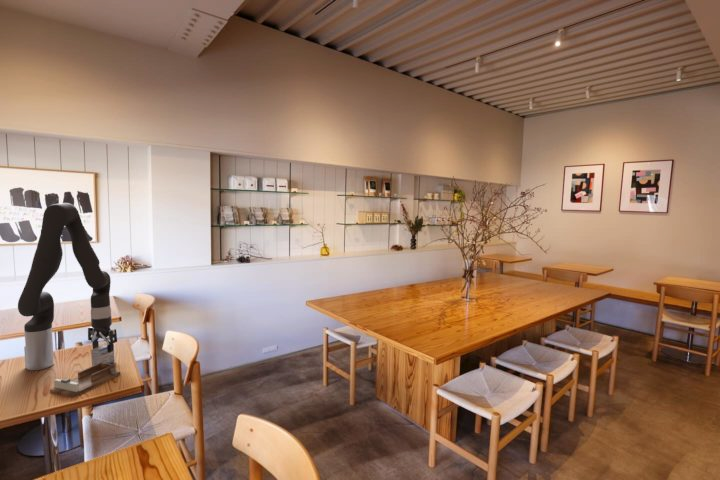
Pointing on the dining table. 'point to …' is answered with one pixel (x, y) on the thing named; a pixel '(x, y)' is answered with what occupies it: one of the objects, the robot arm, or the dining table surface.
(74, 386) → the gate
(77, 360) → the dining table surface
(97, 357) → the medicine box
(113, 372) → the housing
